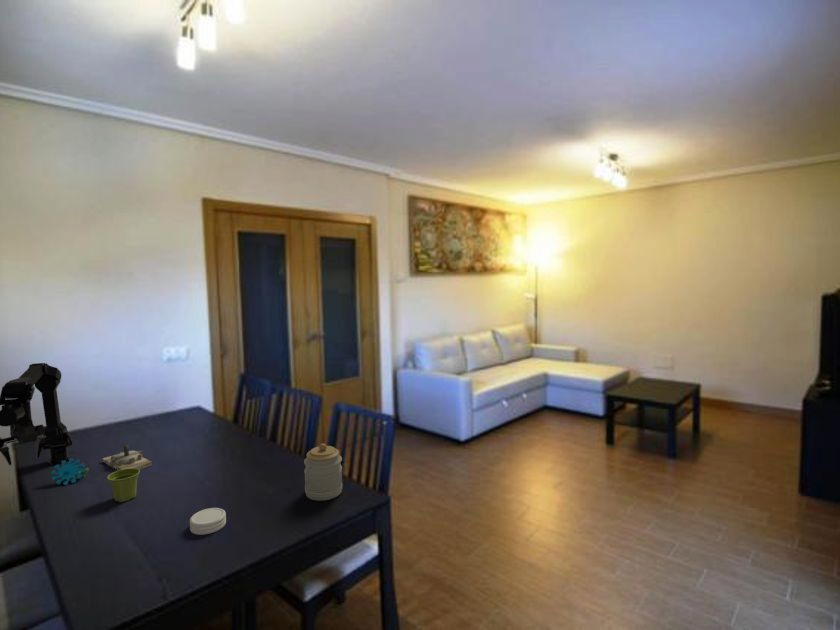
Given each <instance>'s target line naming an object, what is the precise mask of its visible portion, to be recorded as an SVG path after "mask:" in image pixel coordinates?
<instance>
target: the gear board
mask: <svg viewBox="0 0 840 630" xmlns="http://www.w3.org/2000/svg"><path fill="white" fill-rule="evenodd" d="M129 446H130V445H129V444H126V445H123V451H121V452H119V453H117V454H114V455H110V456H106V457H103V458H102V463H104V464H105V465H107V466H110V467H111V468H112V469H114V468H115V469H114V470H116V469H117V470H116V471H118V470H122V469H127V468H137V469H139V470H142V469H144V468H145V469H146V468H148V467H151V466H152V465H153V462H152V461H151V460H149V459H148V458H145V457H143V455H144V454H143V451H142V450H139V451H136V450H135V449H132V450H130V449H129Z"/></svg>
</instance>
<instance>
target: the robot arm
mask: <svg viewBox="0 0 840 630" xmlns="http://www.w3.org/2000/svg"><path fill="white" fill-rule="evenodd" d="M61 380H62V372H61V370H59V368H57V367H55V366H52V365H49V363H45V362H37V363H31V364H29V366H28V368H27V369H26V370H25V371H24V372H23V373H22V374H21V375H20V376H19V377H18V378H15V379H11V380H9V381H7V382H6V383H4V385H3V386H2V388H1V391H0V406H1V409H0V427H6V428H7V427H9V431H10V432H9V435H10V436H8V437H4V438H2V437H0V453H1V455H2V456H3V457H4V459H5V461H6V463H7V464H8V465H9V466H12V459H11V455H10V447H9V446H7V445H8V444H10V443H14V442H18V444H19V445H24V444H25V445H26V444H27V443H30V442H35V443H34V444H35V456H36V459H39V458H40V456H41V453H42V450H43V451H45V450H49V459H47V460H46V463H49V464H50V465H52V466H54V465H55V466H56V465H59V464H62V463H61V461H64V460H65V461H66V462H69V459H72V458H71V457H70V456H69V455H68V447H71V446H73V436H71V434H70V432H69V431H68V428H67V426H66V424H64V423H63V422H62V421H61V414H60V407H59V399H58V397H59V396H58V391H57V389H58V387H59V385H60V384H61V382H62V381H61ZM35 389H37V390H38V392H39V393H40V394H41V398H42V399H41V400H42V406H43V412H44V413H43V414H44V418H45V419H44V420H45V426H44V425H43V424H39V425H34V422H33V418H32V407H31V406H32V405H31V401H32V399H33V398H34V397H33V396H34V393H35Z"/></svg>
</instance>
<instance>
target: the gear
mask: <svg viewBox="0 0 840 630" xmlns="http://www.w3.org/2000/svg"><path fill="white" fill-rule="evenodd" d="M60 464H61V465H62V467H60V465H59V464H55V466H54V468H55V469H56V470H58V472H57V471H56V470H52V471H51V472H50V473H51V475H53V476H52V478H51V479H52V481H56V484H57V485H58V486H59V485H60V484H61V483H62V482H63V483H62V484H63V485H64V486H68V485H69V481H71V484H76V482H77V480H76V477H77V479H79V480H80V479H82V478H83V477H86V474H87V472H89V471H90V469H89V467H86V468H85V463H84V462H82V463H81V460H80V459H76V460H74V458H71V459H69V461H68V463H67V461H65V460H64V461H61V463H60ZM55 475H58V476H55ZM58 479H59V480H58Z"/></svg>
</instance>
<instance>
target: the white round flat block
mask: <svg viewBox="0 0 840 630" xmlns="http://www.w3.org/2000/svg"><path fill="white" fill-rule="evenodd" d="M226 515H227V513H226V511H225V510H224V509H223V508H220V507H210V508H204V509H202V510H199V511H198V512H195V513H194V514H193V515H192V516H191V517H190V519H189V530H190V532H191V533H192V534H194V535H197V536H198V535H199V536H200V535H201V536H202V535H204V536H205V535H210V534H212V533H215V532H217V531H220V530H222V528H224V527H225V525H226V523H227V516H226Z"/></svg>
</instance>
